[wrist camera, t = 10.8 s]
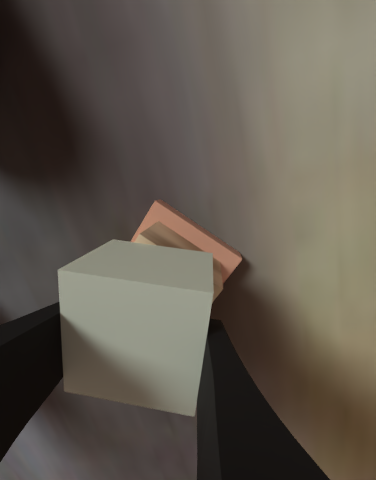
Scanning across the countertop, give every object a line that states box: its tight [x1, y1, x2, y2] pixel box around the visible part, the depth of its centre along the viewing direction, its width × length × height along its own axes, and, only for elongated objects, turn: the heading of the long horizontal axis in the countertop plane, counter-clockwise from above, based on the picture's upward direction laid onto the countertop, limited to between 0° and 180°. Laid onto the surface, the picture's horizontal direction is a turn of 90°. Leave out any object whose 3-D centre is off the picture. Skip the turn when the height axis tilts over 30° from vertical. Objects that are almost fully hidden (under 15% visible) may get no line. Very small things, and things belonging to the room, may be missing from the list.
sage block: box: [58, 240, 214, 417], centre depth 9 cm, size 5×5×4 cm
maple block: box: [135, 221, 223, 302], centre depth 13 cm, size 5×5×4 cm
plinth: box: [131, 199, 242, 283], centre depth 16 cm, size 7×7×2 cm
